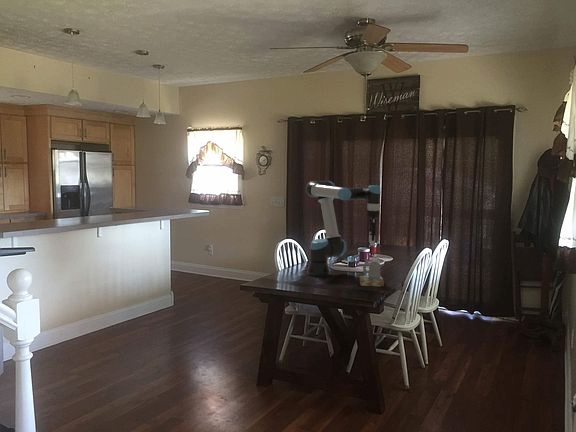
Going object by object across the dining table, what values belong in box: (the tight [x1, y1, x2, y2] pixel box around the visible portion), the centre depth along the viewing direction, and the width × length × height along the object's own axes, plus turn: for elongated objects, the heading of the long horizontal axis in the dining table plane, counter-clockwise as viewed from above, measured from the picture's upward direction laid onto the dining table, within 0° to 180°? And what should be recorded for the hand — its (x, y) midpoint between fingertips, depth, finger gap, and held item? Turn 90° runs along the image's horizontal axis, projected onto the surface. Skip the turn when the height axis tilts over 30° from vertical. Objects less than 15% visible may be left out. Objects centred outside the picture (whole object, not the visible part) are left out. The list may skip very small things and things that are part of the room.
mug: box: [362, 257, 381, 279], centre depth 301 cm, size 8×12×12 cm, turn 56°
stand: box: [359, 275, 385, 288], centre depth 301 cm, size 14×14×3 cm
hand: (371, 243), depth 300 cm, fingers open, 13 cm apart
